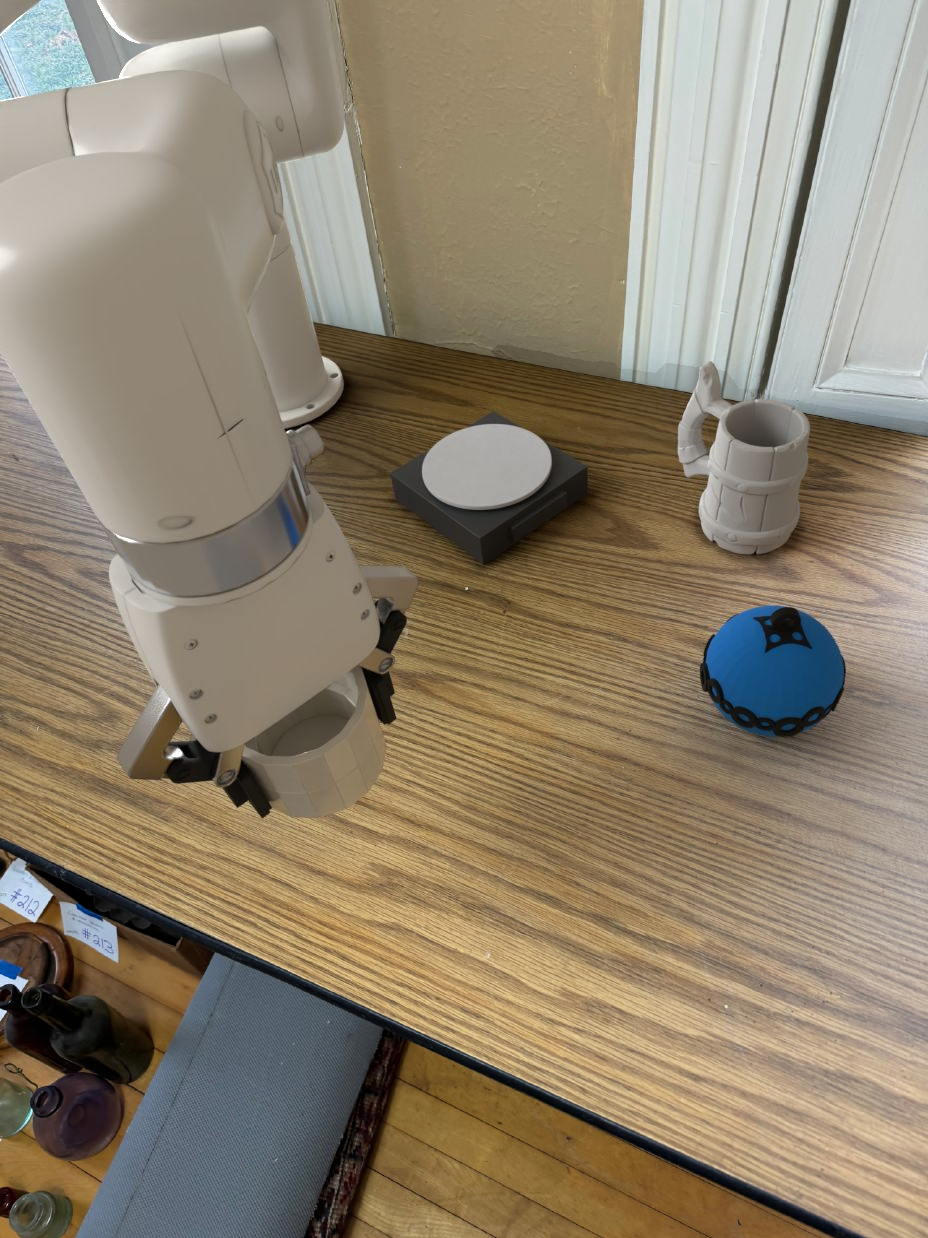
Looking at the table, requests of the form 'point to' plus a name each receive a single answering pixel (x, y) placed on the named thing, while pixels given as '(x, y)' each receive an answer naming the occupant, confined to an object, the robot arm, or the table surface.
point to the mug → (745, 466)
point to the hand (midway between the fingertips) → (316, 750)
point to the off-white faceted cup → (321, 751)
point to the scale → (489, 485)
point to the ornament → (773, 671)
